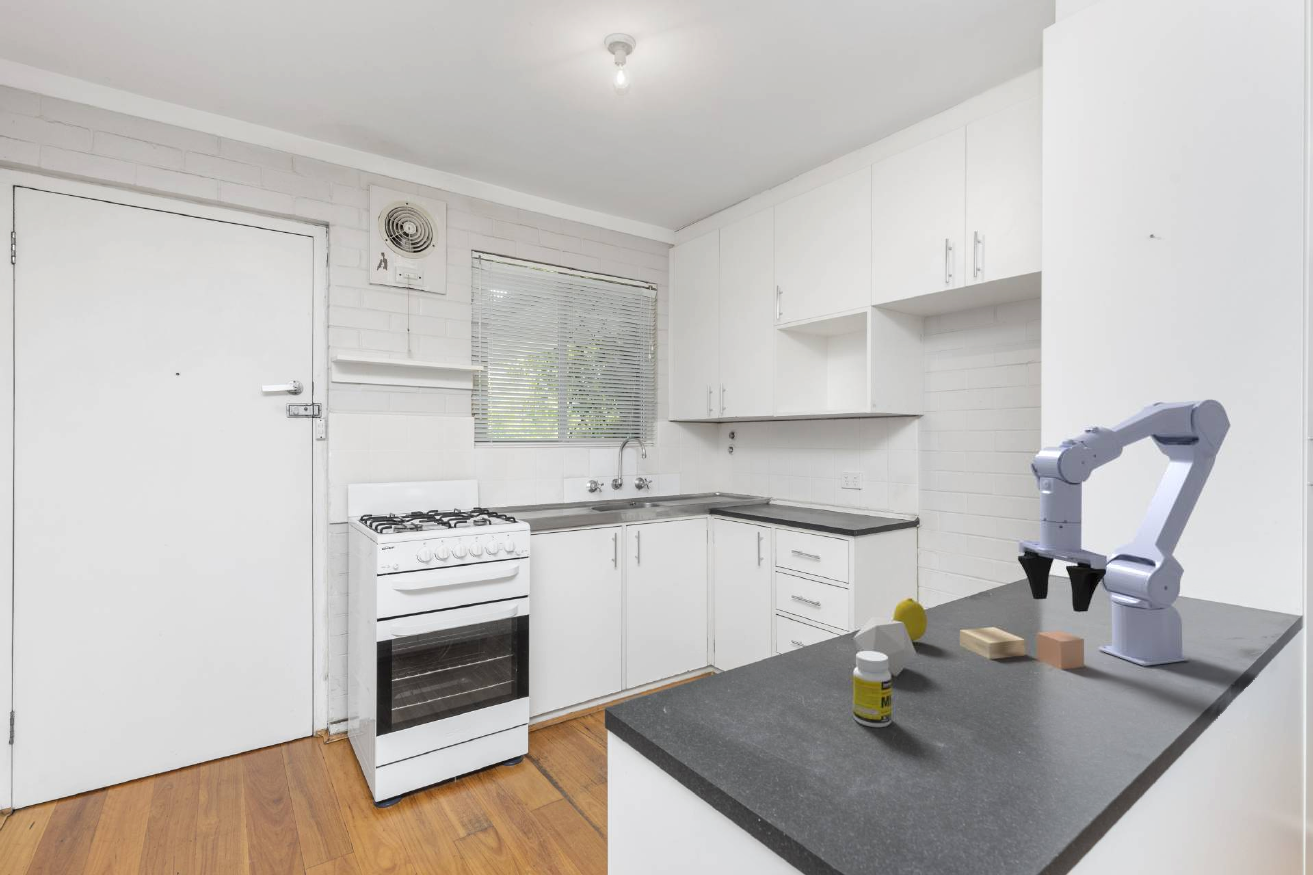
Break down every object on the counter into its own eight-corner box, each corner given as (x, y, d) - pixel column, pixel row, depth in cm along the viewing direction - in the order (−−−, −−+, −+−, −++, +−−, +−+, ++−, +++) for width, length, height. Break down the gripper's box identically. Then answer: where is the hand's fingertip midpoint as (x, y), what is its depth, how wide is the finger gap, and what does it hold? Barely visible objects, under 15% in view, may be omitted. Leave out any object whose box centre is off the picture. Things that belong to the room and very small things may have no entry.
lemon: (930, 648, 108) (929, 602, 108) (896, 646, 109) (896, 601, 109) (923, 638, 114) (922, 594, 114) (891, 636, 115) (890, 593, 115)
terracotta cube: (1059, 657, 104) (1059, 630, 104) (1084, 667, 100) (1083, 638, 100) (1037, 660, 103) (1037, 632, 103) (1061, 669, 98) (1060, 641, 98)
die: (924, 673, 99) (898, 615, 104) (922, 662, 92) (895, 601, 97) (873, 688, 100) (851, 630, 106) (868, 678, 94) (844, 617, 99)
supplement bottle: (887, 731, 78) (886, 664, 78) (849, 722, 81) (848, 657, 81) (895, 716, 82) (894, 653, 82) (858, 708, 85) (858, 647, 85)
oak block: (993, 643, 112) (993, 627, 112) (1024, 657, 105) (1024, 639, 105) (959, 647, 110) (959, 630, 110) (989, 661, 103) (989, 643, 103)
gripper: (1004, 515, 107) (1003, 594, 107) (1080, 527, 93) (1080, 618, 93) (1038, 515, 109) (1037, 592, 109) (1118, 526, 95) (1117, 615, 95)
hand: (1059, 604), depth 101 cm, fingers open, 7 cm apart
